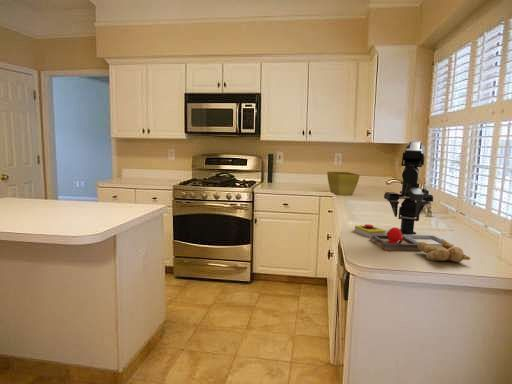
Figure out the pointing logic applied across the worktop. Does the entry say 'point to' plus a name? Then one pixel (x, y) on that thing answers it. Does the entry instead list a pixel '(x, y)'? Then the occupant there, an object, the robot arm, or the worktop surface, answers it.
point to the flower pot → (342, 182)
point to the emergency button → (368, 230)
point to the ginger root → (443, 252)
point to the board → (385, 244)
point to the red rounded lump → (395, 235)
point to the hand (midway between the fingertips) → (406, 217)
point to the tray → (425, 238)
